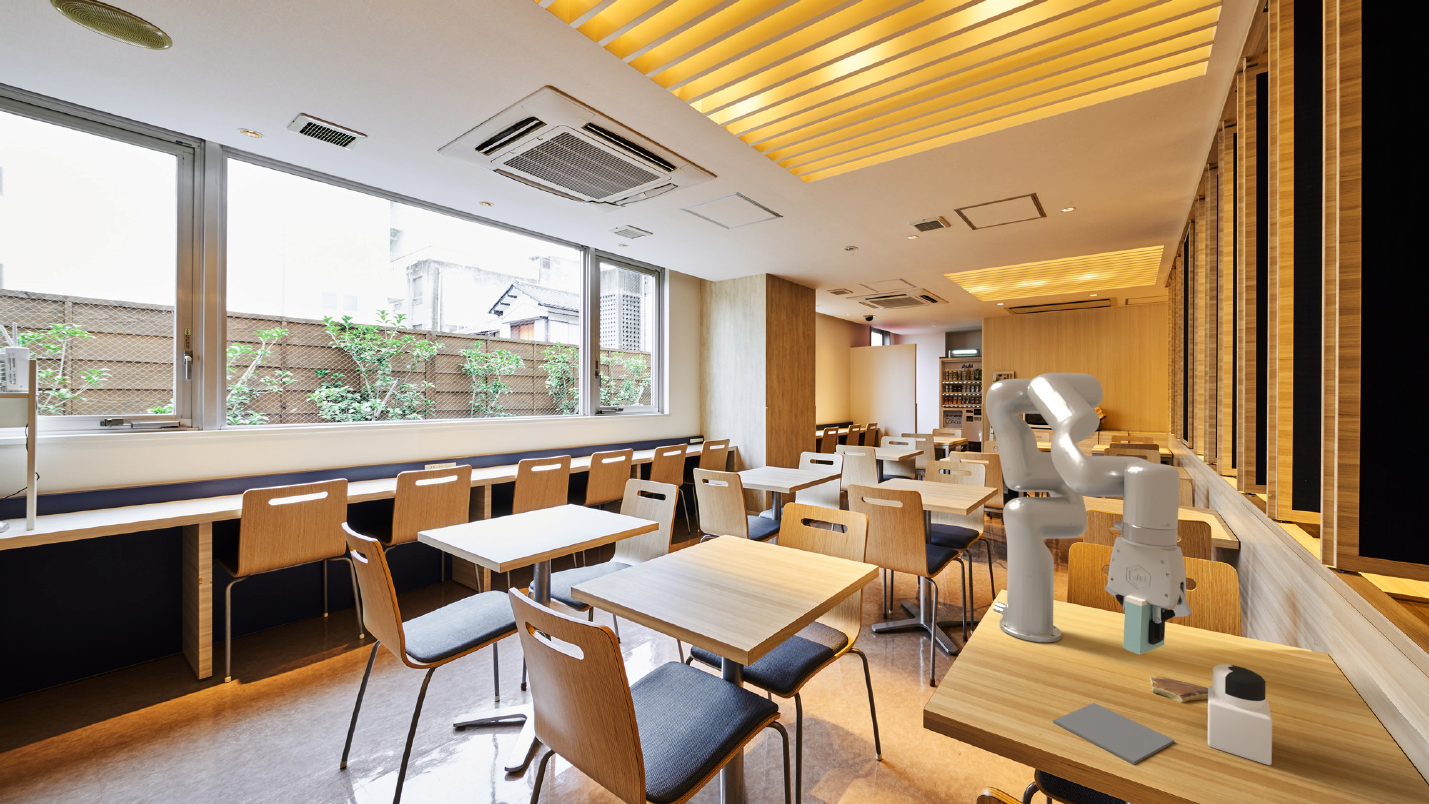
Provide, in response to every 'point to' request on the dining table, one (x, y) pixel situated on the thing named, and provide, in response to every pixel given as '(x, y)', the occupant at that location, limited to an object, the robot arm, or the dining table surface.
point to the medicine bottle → (1239, 714)
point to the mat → (1114, 732)
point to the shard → (1178, 689)
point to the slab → (1138, 625)
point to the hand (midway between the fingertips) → (1144, 637)
